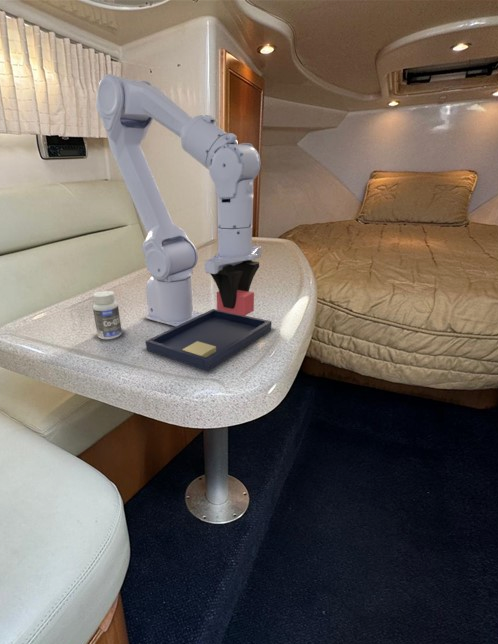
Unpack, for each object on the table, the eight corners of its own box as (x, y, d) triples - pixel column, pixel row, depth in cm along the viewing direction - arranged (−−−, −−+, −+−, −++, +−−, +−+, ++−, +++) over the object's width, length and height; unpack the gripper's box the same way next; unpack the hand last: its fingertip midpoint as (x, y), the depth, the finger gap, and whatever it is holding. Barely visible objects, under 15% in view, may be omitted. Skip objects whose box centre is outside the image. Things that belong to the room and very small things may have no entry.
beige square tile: (182, 354, 60) (182, 349, 59) (197, 346, 62) (197, 340, 62) (201, 361, 57) (201, 355, 57) (216, 351, 60) (216, 346, 60)
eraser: (216, 310, 68) (216, 292, 66) (226, 305, 70) (226, 287, 68) (244, 316, 64) (244, 297, 63) (253, 311, 66) (254, 292, 65)
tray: (146, 350, 64) (145, 340, 63) (213, 316, 77) (213, 308, 76) (208, 371, 55) (207, 361, 55) (271, 330, 68) (271, 321, 68)
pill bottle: (107, 342, 68) (99, 299, 64) (93, 336, 71) (85, 294, 68) (127, 333, 71) (121, 292, 67) (112, 328, 74) (106, 288, 70)
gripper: (230, 234, 53) (230, 320, 59) (277, 221, 63) (273, 297, 69) (193, 232, 58) (196, 312, 64) (243, 220, 67) (242, 291, 73)
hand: (234, 304), depth 66 cm, fingers closed on eraser, 3 cm apart
